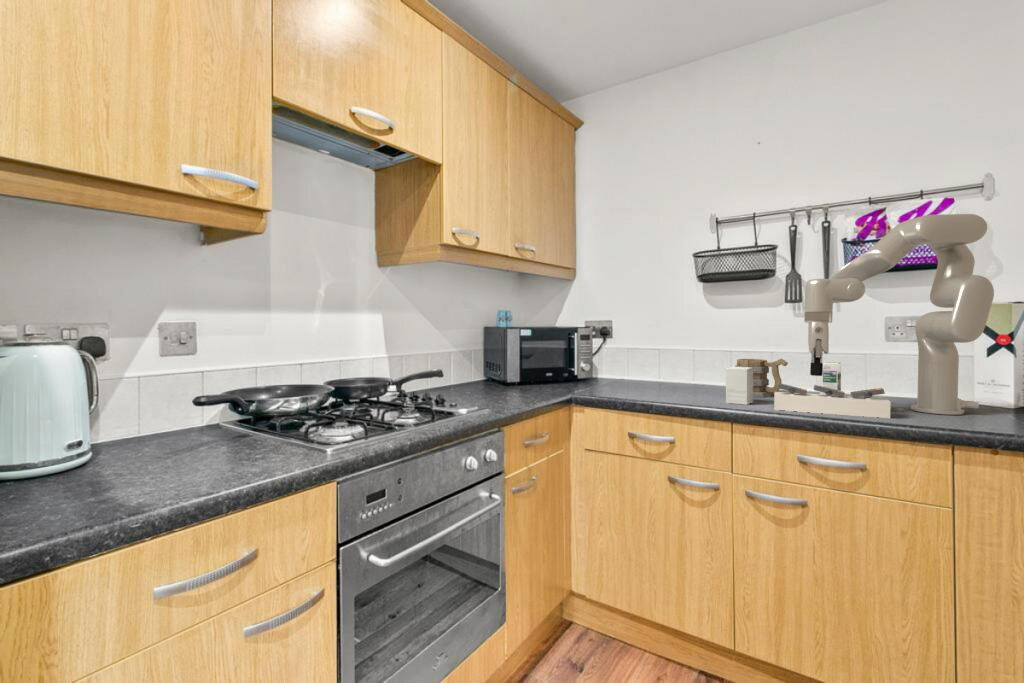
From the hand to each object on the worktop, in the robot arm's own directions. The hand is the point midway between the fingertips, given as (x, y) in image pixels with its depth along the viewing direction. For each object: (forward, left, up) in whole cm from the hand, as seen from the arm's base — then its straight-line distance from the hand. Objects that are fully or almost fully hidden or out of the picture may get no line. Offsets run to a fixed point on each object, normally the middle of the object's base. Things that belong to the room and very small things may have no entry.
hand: (816, 375), depth 153 cm
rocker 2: (-3, 0, -5) cm, 6 cm away
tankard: (+17, -28, -12) cm, 35 cm away
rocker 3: (-13, 0, -5) cm, 14 cm away
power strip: (-5, 0, -12) cm, 13 cm away
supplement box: (+23, -7, -12) cm, 26 cm away
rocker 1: (+7, 0, -5) cm, 8 cm away
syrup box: (-5, -20, -12) cm, 24 cm away
